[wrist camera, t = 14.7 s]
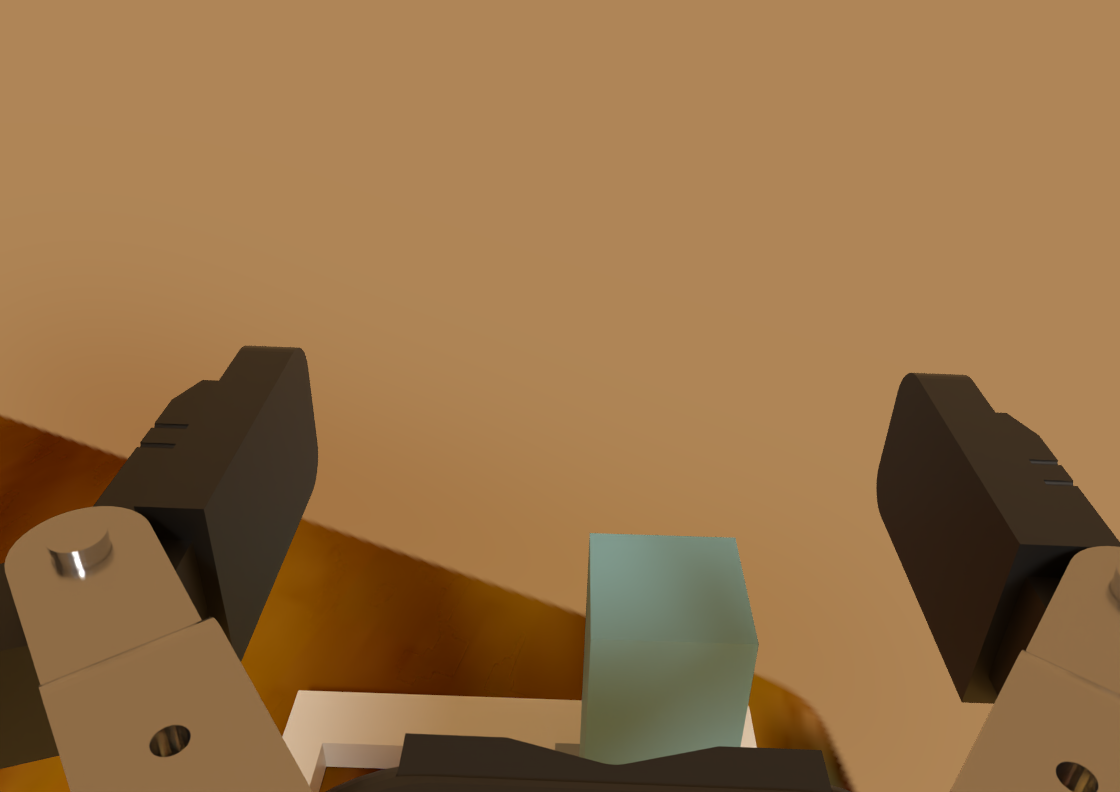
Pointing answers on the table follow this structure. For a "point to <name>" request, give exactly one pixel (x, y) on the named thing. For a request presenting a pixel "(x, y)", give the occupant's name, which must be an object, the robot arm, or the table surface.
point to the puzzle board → (422, 726)
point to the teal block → (664, 647)
